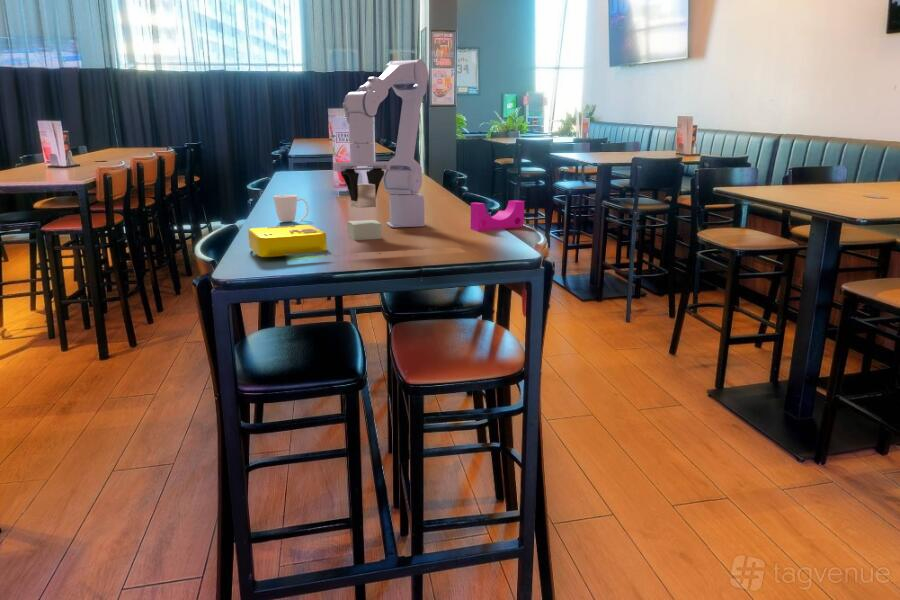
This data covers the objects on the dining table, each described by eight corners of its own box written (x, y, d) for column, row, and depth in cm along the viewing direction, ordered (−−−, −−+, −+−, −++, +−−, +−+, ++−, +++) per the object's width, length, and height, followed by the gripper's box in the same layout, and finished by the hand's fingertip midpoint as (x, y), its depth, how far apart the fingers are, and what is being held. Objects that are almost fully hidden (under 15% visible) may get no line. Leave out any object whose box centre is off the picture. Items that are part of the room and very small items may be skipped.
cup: (271, 223, 177) (269, 195, 174) (304, 221, 182) (303, 193, 180) (279, 226, 171) (277, 197, 169) (313, 223, 176) (311, 195, 174)
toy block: (510, 225, 175) (511, 199, 173) (523, 228, 170) (524, 201, 168) (465, 229, 168) (466, 201, 166) (477, 232, 163) (478, 204, 161)
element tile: (312, 242, 148) (311, 222, 147) (329, 252, 135) (328, 231, 134) (248, 247, 142) (246, 226, 140) (259, 258, 129) (258, 235, 127)
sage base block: (375, 235, 158) (374, 219, 157) (381, 239, 152) (381, 223, 151) (348, 236, 156) (347, 221, 155) (354, 241, 149) (353, 224, 148)
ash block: (367, 205, 155) (366, 183, 153) (375, 206, 151) (375, 184, 150) (351, 206, 152) (350, 184, 151) (359, 208, 149) (358, 185, 147)
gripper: (379, 143, 155) (381, 197, 158) (327, 143, 147) (329, 200, 150) (394, 143, 149) (395, 199, 153) (339, 143, 141) (342, 202, 145)
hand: (363, 200), depth 151 cm, fingers closed on ash block, 4 cm apart
